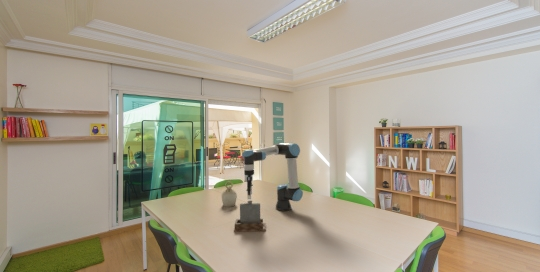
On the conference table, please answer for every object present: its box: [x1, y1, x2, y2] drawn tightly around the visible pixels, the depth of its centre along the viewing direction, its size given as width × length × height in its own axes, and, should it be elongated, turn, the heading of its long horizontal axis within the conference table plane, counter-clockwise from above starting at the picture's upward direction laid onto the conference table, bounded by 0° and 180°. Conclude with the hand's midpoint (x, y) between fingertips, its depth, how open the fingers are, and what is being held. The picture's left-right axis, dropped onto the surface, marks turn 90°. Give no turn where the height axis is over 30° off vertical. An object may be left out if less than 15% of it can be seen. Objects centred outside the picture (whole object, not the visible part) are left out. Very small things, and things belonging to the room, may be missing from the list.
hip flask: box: [239, 200, 261, 223], centre depth 182 cm, size 16×4×20 cm, turn 92°
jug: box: [221, 180, 238, 208], centre depth 241 cm, size 15×16×25 cm
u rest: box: [233, 218, 267, 233], centre depth 182 cm, size 24×12×6 cm, turn 92°
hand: (249, 196), depth 182 cm, fingers open, 13 cm apart
